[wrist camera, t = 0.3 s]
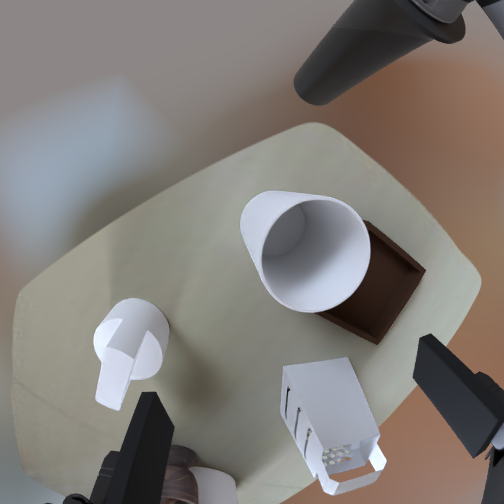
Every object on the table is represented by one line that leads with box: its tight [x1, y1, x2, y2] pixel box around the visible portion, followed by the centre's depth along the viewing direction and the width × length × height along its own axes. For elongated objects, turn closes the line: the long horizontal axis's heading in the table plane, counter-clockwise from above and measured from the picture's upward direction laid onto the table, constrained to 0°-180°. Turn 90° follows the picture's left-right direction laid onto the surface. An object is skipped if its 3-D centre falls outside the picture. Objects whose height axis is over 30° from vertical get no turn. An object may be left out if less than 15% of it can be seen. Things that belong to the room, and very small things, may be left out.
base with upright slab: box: [94, 298, 170, 411], centre depth 29 cm, size 9×9×12 cm
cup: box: [240, 190, 370, 312], centre depth 26 cm, size 8×8×16 cm
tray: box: [313, 220, 426, 345], centre depth 36 cm, size 13×13×3 cm
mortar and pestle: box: [160, 446, 199, 504], centre depth 32 cm, size 12×9×20 cm
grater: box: [280, 357, 387, 495], centre depth 31 cm, size 10×10×20 cm
